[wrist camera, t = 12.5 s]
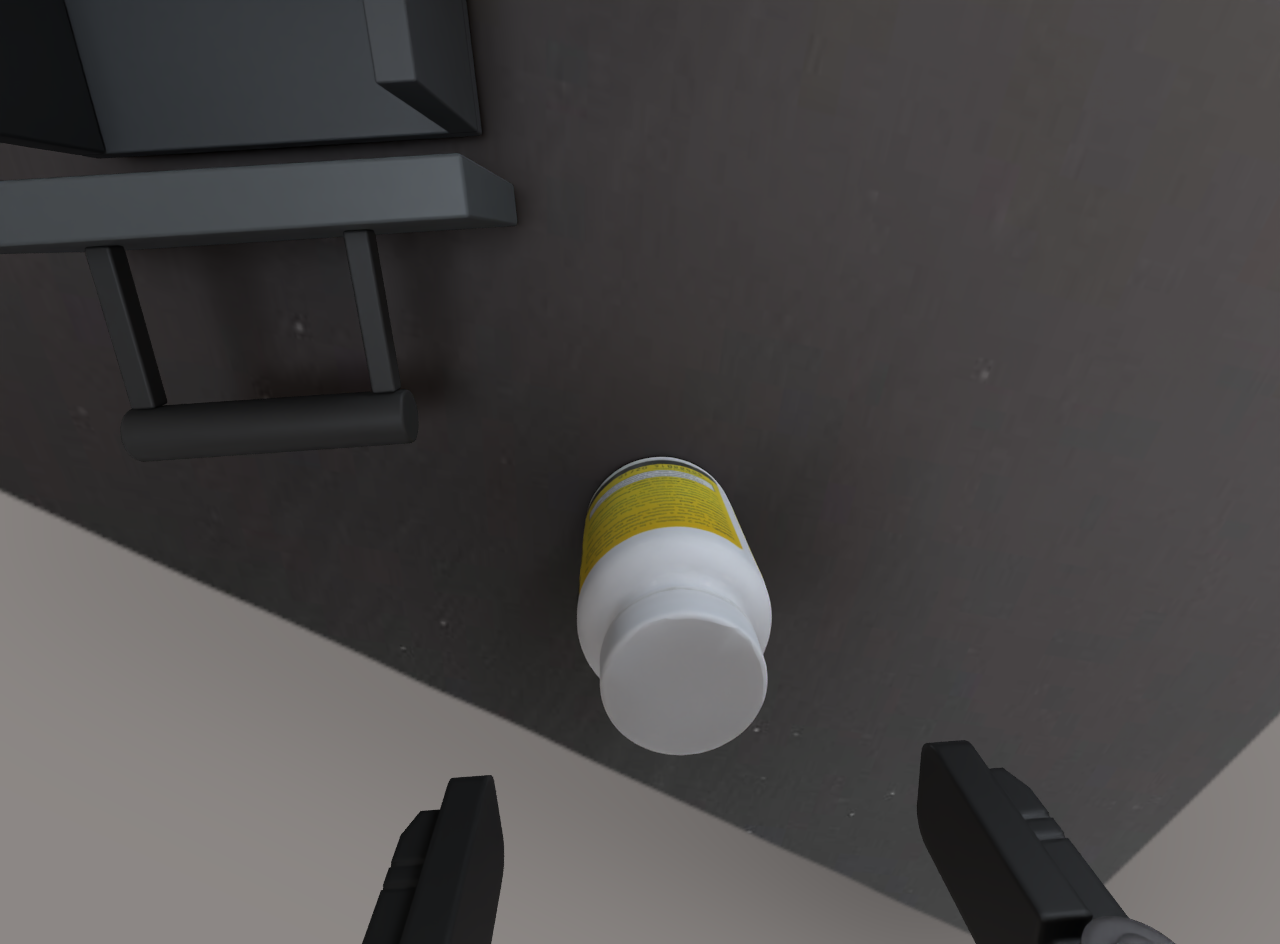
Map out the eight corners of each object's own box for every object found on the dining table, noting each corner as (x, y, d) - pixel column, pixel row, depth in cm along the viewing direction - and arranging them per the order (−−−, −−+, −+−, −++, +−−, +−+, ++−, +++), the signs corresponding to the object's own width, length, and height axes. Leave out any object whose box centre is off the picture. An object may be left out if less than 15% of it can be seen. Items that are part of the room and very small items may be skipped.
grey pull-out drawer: (536, 395, 23) (502, 469, 16) (156, 421, 23) (-63, 509, 15) (448, -415, 17) (320, -935, 9) (-79, -392, 16) (-641, -908, 9)
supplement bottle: (554, 504, 25) (523, 659, 16) (682, 424, 24) (728, 538, 15) (635, 614, 27) (649, 814, 17) (758, 543, 26) (841, 712, 17)
